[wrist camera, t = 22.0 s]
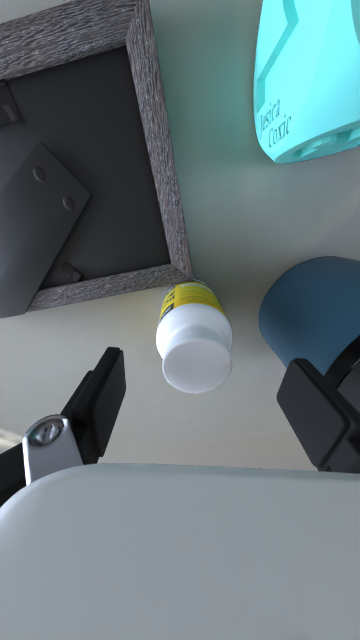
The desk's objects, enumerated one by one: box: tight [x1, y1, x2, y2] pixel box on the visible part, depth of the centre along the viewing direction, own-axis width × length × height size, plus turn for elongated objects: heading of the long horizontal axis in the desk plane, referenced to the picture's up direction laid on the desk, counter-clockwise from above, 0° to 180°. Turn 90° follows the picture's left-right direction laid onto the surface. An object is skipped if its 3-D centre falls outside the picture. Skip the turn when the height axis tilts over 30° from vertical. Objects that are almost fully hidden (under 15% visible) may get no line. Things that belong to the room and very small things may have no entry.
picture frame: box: [0, 0, 194, 318], centre depth 15 cm, size 16×2×21 cm
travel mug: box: [259, 256, 360, 413], centre depth 15 cm, size 12×12×11 cm
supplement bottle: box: [156, 280, 233, 393], centre depth 15 cm, size 5×5×10 cm
